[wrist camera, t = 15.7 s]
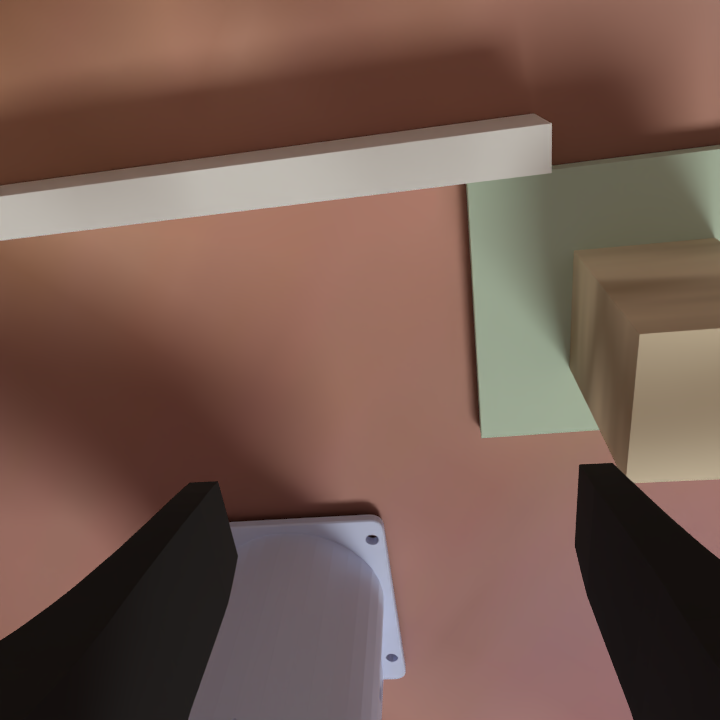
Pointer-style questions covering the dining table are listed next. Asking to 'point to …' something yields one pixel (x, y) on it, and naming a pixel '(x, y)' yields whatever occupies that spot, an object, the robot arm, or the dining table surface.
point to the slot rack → (280, 177)
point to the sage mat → (565, 269)
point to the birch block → (651, 355)
